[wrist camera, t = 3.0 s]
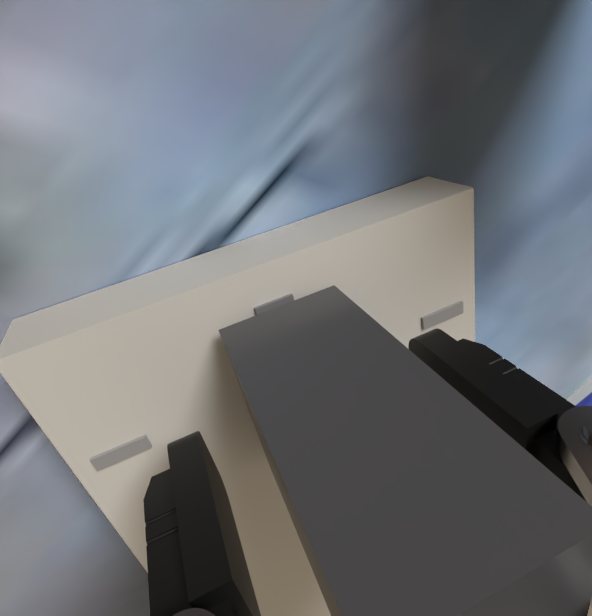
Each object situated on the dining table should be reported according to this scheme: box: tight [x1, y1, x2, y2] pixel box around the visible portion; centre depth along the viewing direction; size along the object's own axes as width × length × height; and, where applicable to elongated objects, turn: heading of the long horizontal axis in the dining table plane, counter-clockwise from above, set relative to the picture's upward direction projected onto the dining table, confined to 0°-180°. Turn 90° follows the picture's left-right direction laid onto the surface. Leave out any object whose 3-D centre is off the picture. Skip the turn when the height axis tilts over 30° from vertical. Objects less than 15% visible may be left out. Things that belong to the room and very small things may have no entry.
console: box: [0, 176, 475, 616], centre depth 17 cm, size 12×23×2 cm, turn 14°
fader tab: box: [219, 285, 592, 616], centre depth 8 cm, size 3×5×7 cm, turn 14°
